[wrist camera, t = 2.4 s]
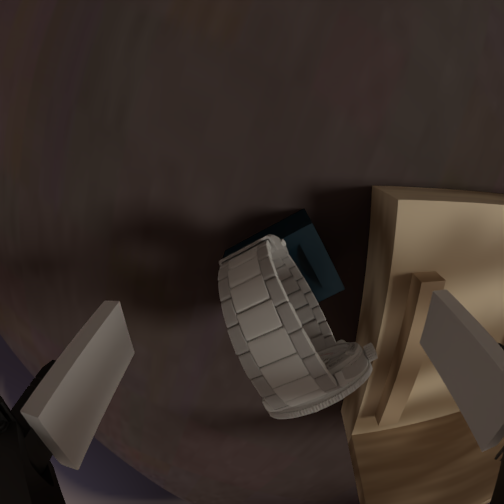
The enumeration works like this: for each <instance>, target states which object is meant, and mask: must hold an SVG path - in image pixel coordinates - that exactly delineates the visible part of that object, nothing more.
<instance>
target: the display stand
mask: <svg viewBox="0 0 504 504" xmlns="http://www.w3.org/2000/svg"><path fill="white" fill-rule="evenodd" d="M446 289H447V290H448V291H449V292H450V293H451V294H452V295H453V296H454V297H455V298H456V299H457V300H458V301H459V302H460V303H461V304H462V305H463V306H464V307H465V308H466V309H467V311H468V312H469V313H470V314H471V315H472V316H473V317H474V318H475V319H476V320H477V321H478V322H479V323H480V324H481V325H482V326H483V328H484V329H485V330H486V331H487V332H488V333H489V334H490V335H491V336H492V337H493V339H494V340H495V341H496V342H497V343H501V344H502V345H504V194H498V193H489V192H478V191H466V190H454V189H439V188H422V187H401V186H372V199H371V217H370V231H369V243H368V253H367V263H366V272H365V281H364V289H363V296H362V304H361V311H360V317H359V324H358V330H357V336H356V341H355V342H356V343H358V344H359V345H360V346H361V347H362V349H363V350H364V348H363V346H365V345H367V344H369V343H372V344H373V346H374V348H375V350H376V353H377V356H378V359H375V360H373V361H371V362H370V363H371V365H372V368H373V369H372V373H371V375H370V376H369V378H368V379H367V380H366V381H365V382H364V383H363V384H362V385H361V386H360V387H359V388H358V389H356V390H355V391H354V392H352V393H351V394H350V395H348V396H347V397H345V398H344V400H343V404H342V408H341V414H342V418H343V423H344V427H345V432H346V436H347V441H348V446H349V451H350V455H351V460H352V465H353V470H354V475H355V481H356V486H357V491H358V497H359V502H360V504H487V503H488V502H490V501H491V498H492V495H493V492H494V488H495V485H496V481H497V477H498V473H499V469H500V465H501V461H500V459H501V458H502V456H503V453H502V454H501V455H500V456H499V458H498V459H497V460H495V457H496V455H497V453H498V452H499V451H500V450H501V449H502V447H503V446H504V437H503V438H502V440H501V441H500V442H499V444H498V445H497V446H495V447H492V448H490V449H488V450H486V451H484V452H482V451H481V449H480V447H479V445H478V443H477V441H476V439H475V437H474V435H473V434H472V432H471V430H470V428H469V426H468V424H467V422H466V420H465V419H464V417H463V415H462V413H461V411H460V409H459V408H458V406H457V404H456V402H455V401H454V399H453V397H452V395H451V394H450V392H449V390H448V389H447V387H446V385H445V383H444V382H443V380H442V378H441V377H440V375H439V373H438V372H437V370H436V369H435V367H434V365H433V364H432V362H431V360H430V359H429V357H428V356H427V354H426V353H425V351H424V349H423V348H422V346H421V345H420V339H421V336H422V332H423V329H424V325H425V321H426V318H427V314H428V310H429V306H430V301H431V297H432V293H433V291H436V290H446Z"/></svg>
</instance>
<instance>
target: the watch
mask: <svg viewBox="0 0 504 504" xmlns="http://www.w3.org/2000/svg"><path fill="white" fill-rule="evenodd" d="M219 265H220V270H219V273H218V281H219V282H218V287H219V296H220V301H221V302H222V303H221V306H222V311H223V315H224V319H225V323H226V326H227V328H229V329H228V333H229V336H230V339H231V342H232V345H233V347H234V350H235V352H236V354H237V355H239V354H241V355H239V360H240V362H241V364H242V366H243V368H244V370H245V372H246V374H247V376H248V378H249V379H251V381H252V383H253V385H254V386H255V388H256V389H257V391H258V392H259V394H260V395H261V396H262V398H263V400H262V403H263V405H264V407H265V409H266V410H267V411H268V413H269V415H270V416H271V417H273V418H277V419H290V418H296V417H301V416H305V415H308V414H311V413H314V412H318V411H319V410H322V409H324V408H326V407H329V406H331V405H333V404H335V403H336V402H338V401H340V400H342V399H343V398H345V397H347V396H348V395H350V394H351V393H352V392H354V391H355V390H356V389H358V388H359V387H360V386H361V385H362V384H363V383H364V382H365V381H366V380H367V379H368V378H369V376H370V375H371V373H372V369H373V368H372V365H371V363H370V362H371V361H373V360H375V359H378V356H377V353H376V350H375V348H374V346H373V344H372V343H369V344H367V345H365V346H363V348H364V350H363V349H362V347H361V346H360V345H359V344H358V343H356V342H346V341H344V340H339V341H337V343H336V341H335V339H334V337H333V333H332V331H331V329H330V327H329V325H328V323H327V321H326V318H325V316H324V314H323V312H322V310H321V308H320V306H318V305H319V304H318V302H320V301H322V300H324V299H326V298H328V297H330V296H332V295H334V294H336V293H338V292H340V291H342V290H344V289H345V288H344V286H343V284H342V282H341V280H340V278H339V275H338V273H337V271H336V269H335V267H334V265H333V263H332V261H331V259H330V257H329V255H328V253H327V251H326V249H325V247H324V245H323V243H322V241H321V239H320V237H319V235H318V233H317V231H316V229H315V227H314V226H313V224H312V222H311V220H310V218H309V216H308V214H307V213H306V211H305V209H302V210H300V211H299V212H297V213H295V214H293V215H291V216H289V217H287V218H285V219H283V220H282V221H280V222H278V223H276V224H274V225H272V226H270V227H268V228H267V229H265V230H263V231H261V232H259V233H257V234H255V235H253V236H252V237H250V238H248V239H246V240H244V241H242V242H240V243H239V244H237V245H235V246H233V247H231V248H229V249H227V250H226V251H225V253H224V257H223V259H221V260H220V261H219ZM316 306H317V307H316ZM314 307H315V308H314ZM312 308H313V309H312ZM240 313H241V314H240ZM314 319H315V320H314ZM312 320H313V321H312ZM310 321H311V322H310ZM324 321H325V322H324ZM308 322H309V323H308ZM305 323H307V324H305ZM319 323H320V324H319ZM239 324H240V325H239ZM303 324H305V325H303ZM283 325H284V326H283ZM302 325H303V326H302ZM281 326H283V327H281ZM279 327H281V328H279ZM277 328H279V329H277ZM274 329H277V330H274ZM272 330H274V331H272ZM270 331H272V332H270ZM268 332H270V333H268ZM265 333H268V334H265ZM263 334H265V335H263ZM261 335H263V336H261ZM258 336H261V337H258ZM317 336H318V337H317ZM256 337H258V338H256ZM254 338H256V339H254ZM251 339H254V340H251ZM249 340H251V341H249ZM249 350H250V351H249ZM247 351H248V352H247ZM244 352H246V353H244ZM242 353H243V354H242Z"/></svg>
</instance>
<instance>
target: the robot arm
mask: <svg viewBox="0 0 504 504" xmlns="http://www.w3.org/2000/svg"><path fill="white" fill-rule="evenodd" d="M420 345H421V346H422V348H423V349H424V351H425V353H426V354H427V356H428V357H429V359H430V360H431V362H432V364H433V365H434V367H435V369H436V370H437V372H438V373H439V375H440V377H441V378H442V380H443V382H444V383H445V385H446V387H447V389H448V390H449V392H450V394H451V395H452V397H453V399H454V401H455V402H456V404H457V406H458V408H459V409H460V411H461V413H462V415H463V417H464V419H465V420H466V422H467V424H468V426H469V428H470V430H471V432H472V434H473V435H474V437H475V439H476V441H477V443H478V445H479V447H480V449H481V451H482V452H484V451H486V450H488V449H490V448H492V447H495V446H497V445H498V444H499V442H500V441H501V440H502V438H503V437H504V345H502V344H501V343H497V342H496V341H495V340H494V339H493V337H492V336H491V335H490V334H489V333H488V332H487V331H486V330H485V329H484V328H483V326H482V325H481V324H480V323H479V322H478V321H477V320H476V319H475V318H474V317H473V316H472V315H471V314H470V313H469V312H468V311H467V309H466V308H465V307H464V306H463V305H462V304H461V303H460V302H459V301H458V300H457V299H456V298H455V297H454V296H453V295H452V294H451V293H450V292H449V291H448V290H447V289H446V290H436V291H433V293H432V297H431V301H430V306H429V310H428V314H427V318H426V321H425V325H424V329H423V332H422V336H421V339H420ZM134 353H135V352H134V349H133V346H132V343H131V339H130V336H129V333H128V329H127V326H126V322H125V319H124V315H123V311H122V307H121V304H120V301H104V302H103V303H102V304H101V305H100V307H99V308H98V309H97V310H96V311H95V313H94V314H93V315H92V316H91V317H90V319H89V320H88V321H87V322H86V324H85V325H84V326H83V327H82V328H81V330H80V331H79V332H78V333H77V335H76V336H75V337H74V338H73V340H72V341H71V342H70V344H69V345H68V346H67V347H66V349H65V350H64V351H63V353H62V354H61V355H60V356H59V358H58V359H57V360H56V361H55V360H52V361H51V362H49V363H48V364H47V365H45V366H44V367H42V369H41V370H40V371H39V373H38V374H37V375H36V378H34V379H33V381H32V382H31V384H30V386H28V387H27V389H26V390H25V391H24V393H23V395H22V396H21V397H20V399H19V400H18V401H17V403H16V404H15V406H14V407H13V408H12V410H11V411H10V409H9V408H8V406H7V405H6V403H5V402H4V400H3V399H2V397H1V396H0V504H66V503H65V500H64V498H63V495H62V492H61V490H60V487H59V484H58V480H57V477H56V474H55V471H54V467H53V465H52V464H51V462H50V458H51V456H52V455H53V456H54V457H55V458H56V459H57V460H58V461H59V463H60V464H62V465H65V466H68V467H71V468H74V469H77V470H79V467H80V465H81V463H82V460H83V458H84V456H85V454H86V451H87V449H88V447H89V445H90V443H91V440H92V438H93V436H94V434H95V432H96V430H97V428H98V426H99V423H100V421H101V419H102V417H103V415H104V413H105V411H106V409H107V407H108V405H109V403H110V401H111V399H112V397H113V394H114V392H115V390H116V388H117V386H118V384H119V382H120V380H121V379H122V377H123V375H124V373H125V371H126V369H127V367H128V365H129V363H130V361H131V359H132V357H133V355H134ZM502 453H503V456H502V458H501V459H500V461H501V465H500V469H499V473H498V477H497V481H496V485H495V488H494V492H493V495H492V498H491V501H490V504H504V446H503V447H502V449H501V450H500V451H499V452H498V453H497V455H496V457H495V460H497V459H498V458H499V456H500V455H501V454H502Z"/></svg>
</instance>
